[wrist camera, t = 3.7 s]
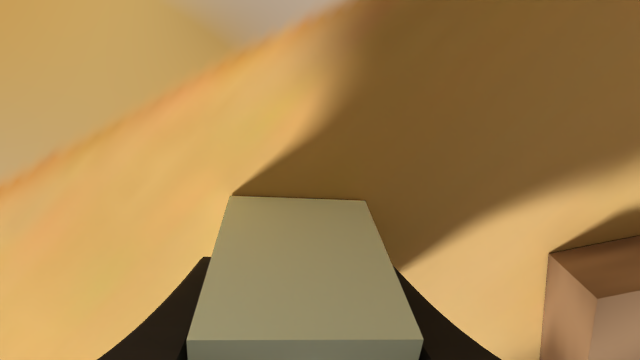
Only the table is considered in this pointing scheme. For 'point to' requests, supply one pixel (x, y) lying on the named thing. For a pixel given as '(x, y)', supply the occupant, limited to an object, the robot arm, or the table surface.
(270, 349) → the block
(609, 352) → the plinth
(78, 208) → the table surface
